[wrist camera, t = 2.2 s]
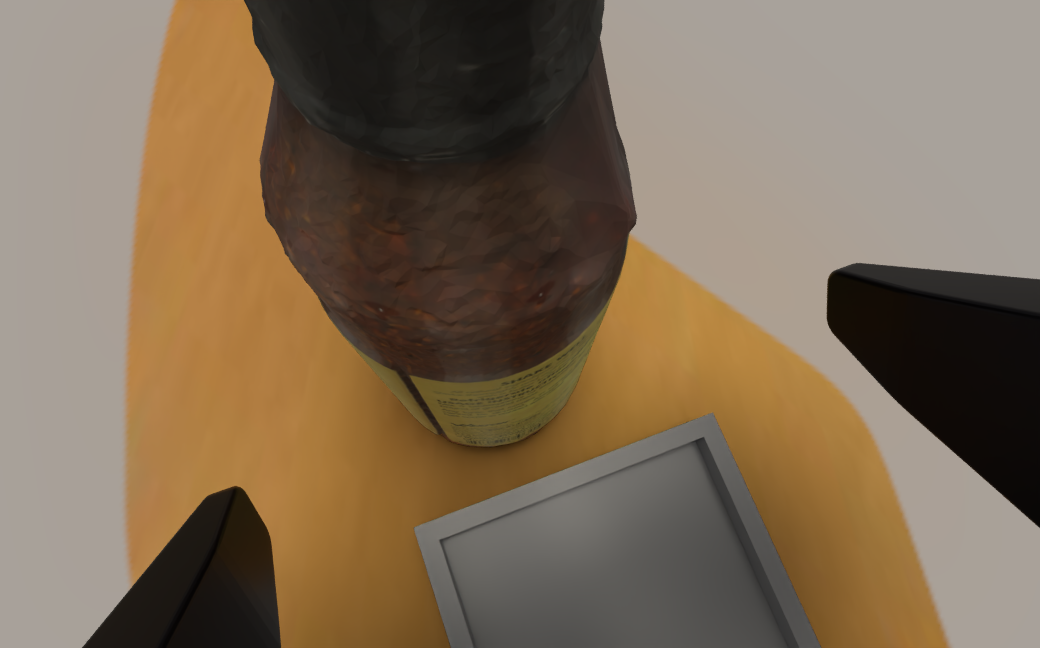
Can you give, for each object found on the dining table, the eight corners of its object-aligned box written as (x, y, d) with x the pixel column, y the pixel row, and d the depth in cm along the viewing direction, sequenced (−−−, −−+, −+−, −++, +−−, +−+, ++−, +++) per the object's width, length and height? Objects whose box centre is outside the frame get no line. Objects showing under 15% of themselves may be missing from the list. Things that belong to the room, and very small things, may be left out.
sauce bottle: (601, 322, 23) (1137, -657, 4) (530, 485, 21) (895, 127, 2) (436, 249, 23) (214, -914, 4) (353, 402, 22) (-614, -471, 3)
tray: (839, 730, 19) (867, 747, 18) (529, 880, 18) (533, 911, 16) (698, 419, 22) (712, 412, 20) (418, 527, 20) (413, 527, 19)
